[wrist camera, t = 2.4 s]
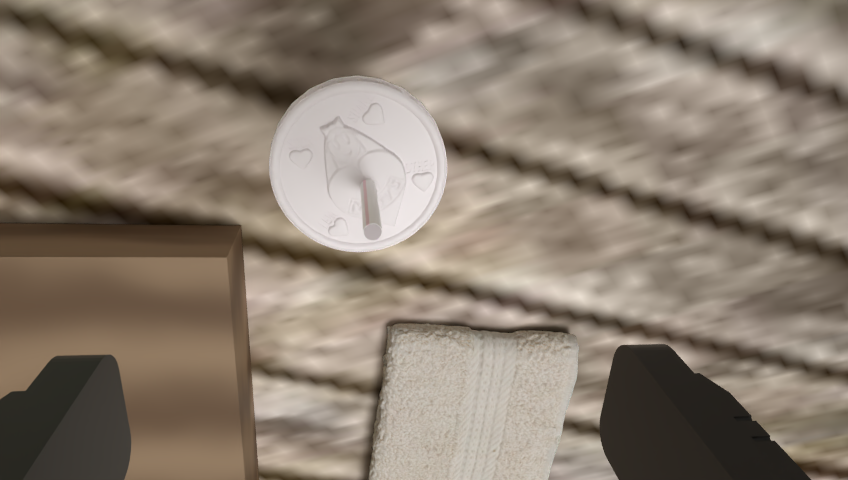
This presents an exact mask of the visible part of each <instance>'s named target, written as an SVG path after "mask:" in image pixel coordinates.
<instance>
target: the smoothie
mask: <svg viewBox="0 0 848 480" xmlns="http://www.w3.org/2000/svg"><path fill="white" fill-rule="evenodd" d="M269 172H270V180H271V185H272V189H273V192H274V195H275V197H276V200H277V202H278V204H279V206H280V208H281V209H282V211H283V212H284V214H285V215H286V217H287V218H288V219H289V220H290V222H291V223H292V224H293V225H294V226H295V227H296V228H297V229H299V230H300V231H301V232H302V233H303V234H305V235H306V236H308V237H309V238H311V239H313V240H314V241H316V242H318V243H320V244H322V245H325V246H328V247H330V248H334V249H338V250H342V251H349V252H368V251H375V250H381V249H384V248H387V247H390V246H393V245H395V244H398V243H400V242H402V241H404V240H405V239H407V238H408V237H410V236H411V235H413V234H414V233H415V232H417V231H418V230H419V229H420V228H421V227H422V226H423V225H424V224H425V223H426V222H427V221H428V220H429V218H430V217H431V216H432V214H433V213H434V211H435V209H436V208H437V206H438V204H439V202H440V200H441V197H442V194H443V191H444V188H445V184H446V177H447V158H446V151H445V147H444V143H443V140H442V137H441V135H440V132H439V129H438V127H437V124H436V122H435V120H434V119H433V117H432V116H431V115H430V113H429V112H428V111H427V109H426V108H425V106H424V105H423V104H422V103H421V102H420V101H419V100H418V99H416V98H415V97H414V96H413V95H411V94H410V93H409V92H408V91H406V90H405V89H404V88H402V87H400V86H397V85H395V84H392V83H390V82H388V81H385V80H383V79H380V78H373V77H366V76H358V75H356V76H348V77H340V78H333V79H331V80H328V81H326V82H323V83H321V84H319V85H316V86H314V87H312V88H310V89H309V90H307V91H306V92H305V93H304V94H303V95H301V96H300V97H299V98H298V99H296V100H295V101H294V102H293V103H292V104H291V105H290V107H289V108H288V109H287V111H286V112H285V114H284V115H283V117H282V118H281V119H280V121H279V122H278V125H277V128H276V131H275V134H274V137H273V140H272V143H271V151H270V159H269Z"/></svg>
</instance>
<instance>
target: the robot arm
mask: <svg viewBox="0 0 848 480" xmlns="http://www.w3.org/2000/svg"><path fill="white" fill-rule="evenodd" d="M600 437H601V442H602V446H603V450H604V452H605V455H606V457H607V459H608V461H609V463H610V464H611V466H612V468H613V470H614V472H615V474H616V475H617V477H618V479H619V480H811V479H810V478H809V477H808V476H807V475H806V474H805V473H804V472H803V470H802V469H801V468H800V467H799V466H798V465H797V464H796V463H795V462H794V461H793V460H792V459H791V458H790V457H789V456H788V454H787V453H786V452H785V451H784V450H783V449H782V448H781V447H780V446H779V445H778V444H777V443H776V442H775V441H771V440H770V435H769V434H768V433H767V432H766V431H765V430H764V429H763V428H762V427H761V426H760V425H759V424H758V423H757V421H752V419H751V415H750V414H749V413H748V412H747V411H746V410H745V409H744V408H743V407H742V405H741V404H740V403H739V402H738V401H737V400H736V399H735V398H734V397H733V396H732V395H731V394H730V393H729V392H728V391H726V390H724V389H723V388H721V387H720V386H718V385H717V384H715V383H714V382H712V381H711V380H709V379H707V378H706V377H704V376H703V375H701V374H700V373H695V374H694V373H693V371H692V370H691V369H690V368H689V367H688V366H687V365H686V364H685V363H684V361H683V360H682V359H681V358H680V357H679V356H678V355H677V354H676V352H675V351H674V350H673V349H672V348H671V347H669V346H668V345H665V344H652V345H621V346H620V347H618V349H617V350H616V352H615V354H614V358H613V362H612V366H611V371H610V376H609V380H608V385H607V389H606V394H605V398H604V403H603V408H602V412H601V417H600ZM130 455H131V433H130V427H129V421H128V416H127V410H126V405H125V399H124V394H123V388H122V383H121V377H120V372H119V367H118V363H117V361H116V359H115V357H114V356H112V355H64V356H55V357H53V358H52V359H51V360H50V361H49V362H48V363H47V365H46V366H45V367H44V368H43V370H42V371H41V372H40V373H39V375H38V376H37V377H36V378H35V380H34V381H33V382H32V383H31V385H30V386H29V387H28V388H27V390H26V391H12V392H10V393H9V394H7V395H6V396H4V397H3V398H1V399H0V480H124V479H125V476H126V473H127V470H128V466H129V461H130Z"/></svg>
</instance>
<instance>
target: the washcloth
mask: <svg viewBox="0 0 848 480" xmlns="http://www.w3.org/2000/svg"><path fill="white" fill-rule="evenodd" d="M387 334H388V339H387V347H386V354H385V355H384V356H383V357H382V358H383V360H384V366H383V382H382V389H381V391H380V395H379V396H380V399H379V401H378V407H377V414H376V421H375V424H374V434H373V447H372V450H373V452H372V455H371V457H372V459H371V461H370V467H369V470H370V473H369V477H368V480H548V478H549V474H550V470H551V465H552V462H553V459H554V456H555V453H556V451H557V448H558V444H559V442H560V436H561V433H562V430H563V422H564V417H565V414H566V410H567V408H568V405H569V402H570V398H571V396H572V392H573V389H574V385H575V382H576V379H577V370H578V352H579V346H578V343H577V338H576V336H575V335H573V334H567V333H563V332H556V333H555V332H552V331H536V330H534V331H530V330H529V331H524V330H521V331H515V332H513V333H499V332H489V331H484V330H482V331H477V330H471V329H470V328H469V327H466V326H464V327H462V326H446V325H437V324H435V325H430V324H428V323H426V324H416V323H415V324H411V323H409V324H403V323H400V324H394V325H393V326H392V327H390V326H387Z"/></svg>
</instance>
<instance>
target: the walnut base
mask: <svg viewBox="0 0 848 480" xmlns="http://www.w3.org/2000/svg"><path fill="white" fill-rule="evenodd" d="M64 355H112V356H114V357H115V359H116V361H117V363H118V367H119V372H120V377H121V383H122V388H123V394H124V399H125V405H126V410H127V416H128V421H129V427H130V433H131V455H130V461H129V466H128V470H127V473H126V476H125V479H124V480H259V474H258V459H257V445H256V431H255V417H254V403H253V388H252V374H251V360H250V346H249V331H248V317H247V303H246V289H245V274H244V260H243V246H242V232H241V226H240V225H135V224H30V223H0V399H1V398H3V397H4V396H6V395H7V394H9V393H10V392H12V391H26V390H27V388H28V387H29V386H30V385H31V383H32V382H33V381H34V380H35V378H36V377H37V376H38V375H39V373H40V372H41V371H42V370H43V368H44V367H45V366H46V365H47V363H48V362H49V361H50V360H51V359H52V358H53V357H55V356H64Z"/></svg>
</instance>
